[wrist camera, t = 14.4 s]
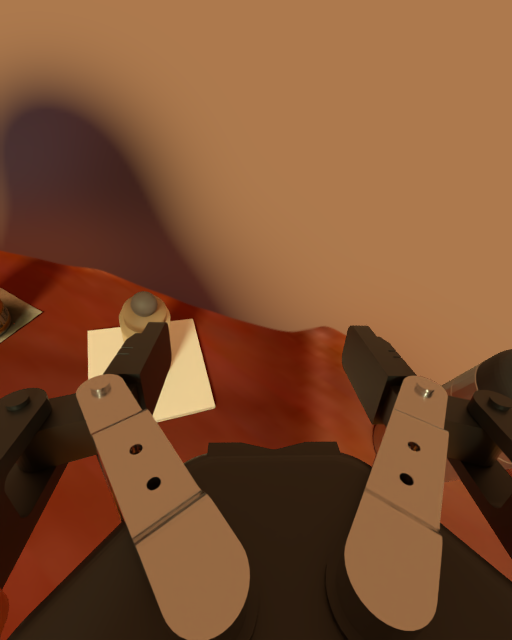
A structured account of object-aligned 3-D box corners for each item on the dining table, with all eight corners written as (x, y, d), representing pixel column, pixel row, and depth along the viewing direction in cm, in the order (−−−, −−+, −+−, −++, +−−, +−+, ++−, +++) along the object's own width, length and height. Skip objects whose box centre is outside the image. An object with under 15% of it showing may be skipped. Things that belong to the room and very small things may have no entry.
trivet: (192, 321, 44) (192, 318, 43) (214, 408, 37) (215, 406, 36) (89, 334, 38) (87, 330, 38) (90, 438, 31) (89, 436, 31)
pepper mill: (166, 349, 39) (166, 275, 28) (172, 381, 37) (174, 313, 26) (128, 355, 37) (112, 278, 26) (131, 388, 35) (116, 319, 24)
